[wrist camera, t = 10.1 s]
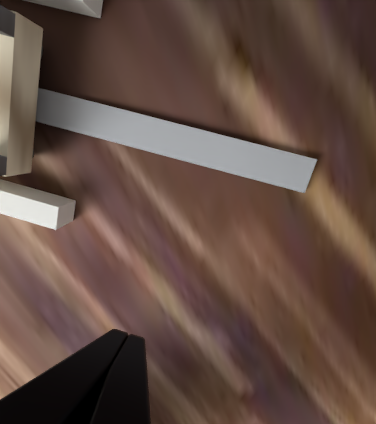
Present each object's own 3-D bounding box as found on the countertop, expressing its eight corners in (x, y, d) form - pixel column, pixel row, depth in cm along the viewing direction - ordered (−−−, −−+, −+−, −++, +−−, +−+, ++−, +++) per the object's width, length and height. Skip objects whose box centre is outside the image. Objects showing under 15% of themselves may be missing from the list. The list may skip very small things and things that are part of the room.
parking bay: (270, 277, 18) (278, 303, 15) (-116, 166, 20) (-174, 170, 17) (357, 45, 14) (390, 21, 11) (-132, -66, 16) (-209, -111, 13)
